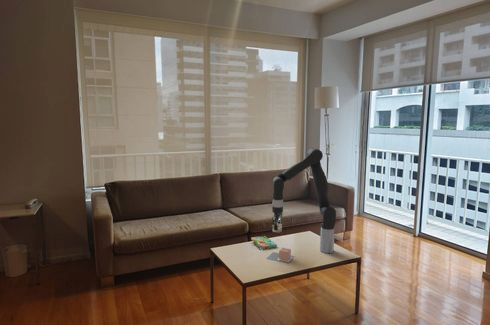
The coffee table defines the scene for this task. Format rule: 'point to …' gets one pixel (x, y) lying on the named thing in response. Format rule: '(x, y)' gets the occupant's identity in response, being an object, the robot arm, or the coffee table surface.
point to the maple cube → (278, 228)
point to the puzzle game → (263, 242)
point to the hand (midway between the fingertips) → (277, 229)
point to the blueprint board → (275, 257)
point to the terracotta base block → (284, 254)
